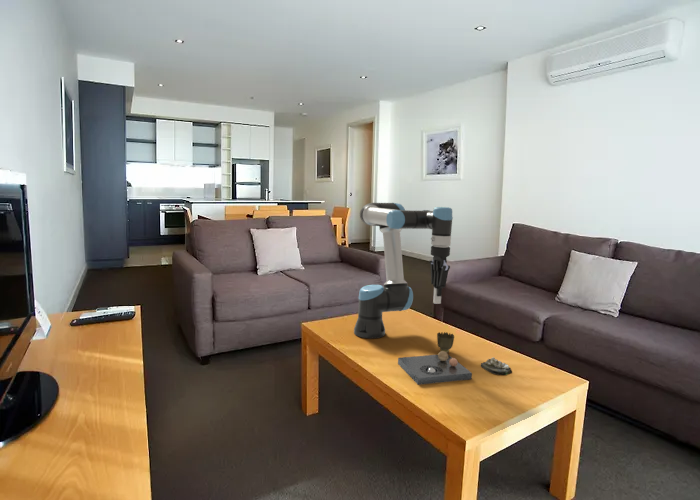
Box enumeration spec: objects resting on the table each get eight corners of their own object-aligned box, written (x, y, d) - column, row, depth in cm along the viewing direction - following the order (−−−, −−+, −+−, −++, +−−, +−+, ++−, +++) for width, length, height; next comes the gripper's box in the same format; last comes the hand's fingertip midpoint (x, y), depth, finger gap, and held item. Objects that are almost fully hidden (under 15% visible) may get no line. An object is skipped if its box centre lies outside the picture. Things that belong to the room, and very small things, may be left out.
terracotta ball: (447, 364, 165) (447, 357, 165) (454, 364, 166) (455, 356, 165) (451, 368, 162) (452, 360, 162) (458, 367, 163) (459, 359, 162)
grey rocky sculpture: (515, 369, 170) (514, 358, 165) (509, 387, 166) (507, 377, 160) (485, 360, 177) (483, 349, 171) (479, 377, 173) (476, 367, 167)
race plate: (397, 363, 171) (398, 357, 170) (446, 359, 177) (447, 353, 176) (417, 384, 153) (418, 378, 152) (471, 379, 159) (472, 373, 158)
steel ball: (425, 374, 161) (425, 366, 161) (433, 374, 162) (433, 365, 162) (429, 378, 158) (429, 370, 157) (437, 378, 159) (438, 369, 158)
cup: (453, 356, 180) (454, 338, 179) (435, 354, 182) (437, 336, 181) (452, 349, 188) (454, 332, 187) (436, 348, 189) (437, 331, 188)
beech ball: (435, 359, 170) (436, 349, 170) (444, 358, 171) (445, 349, 171) (440, 363, 166) (441, 353, 166) (449, 362, 167) (450, 352, 167)
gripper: (424, 243, 174) (421, 299, 177) (439, 248, 162) (436, 308, 165) (441, 243, 176) (437, 298, 179) (457, 248, 164) (453, 307, 167)
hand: (436, 303), depth 172 cm, fingers closed
